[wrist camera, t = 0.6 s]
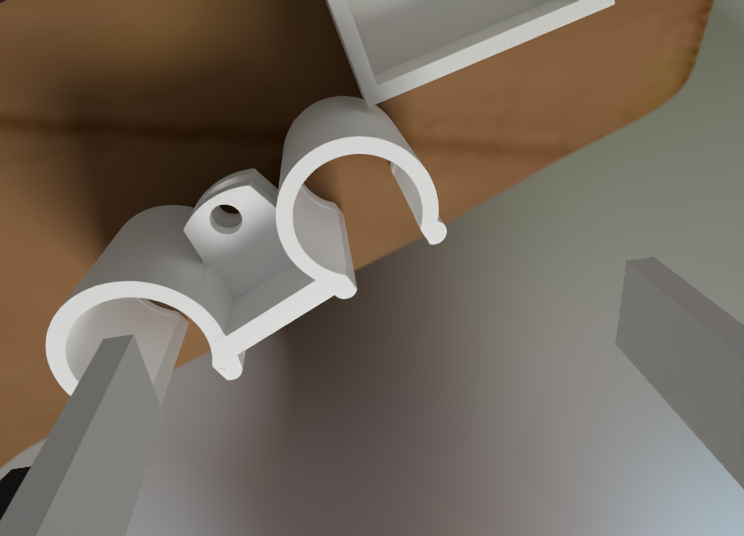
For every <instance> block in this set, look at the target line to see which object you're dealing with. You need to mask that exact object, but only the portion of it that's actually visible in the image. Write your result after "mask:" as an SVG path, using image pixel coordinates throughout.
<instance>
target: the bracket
mask: <svg viewBox="0 0 744 536" xmlns="http://www.w3.org/2000/svg"><path fill="white" fill-rule="evenodd" d="M349 154H370V155H375V156H379V157H382V158H385V159H387V160H389V161H391V163H390V169H391V171H392V173H393V174H394V176H395V178H396V180H397V182H398V184H399V186H400V188H401V190H402V192H403V194H404V196H405V198H406V200H407V202H408V204H409V206H410V208H411V210H412V212H413V214H414V216H415V218H416V221H417V223H418V225H419V227H420V229H421V231H422V232H423V234H424V235H425V237H426V238H427V240H428V242H429V243H430V244H438V243H440V242H441V241H442V240H443V239H444V238H445V236H446V233H447V230H446V227H445V225H444V223H443V222H442V220H441V219H440V217H439V215H438V210H439V209H438V199H437V194H436V190H435V187H434V184H433V182H432V180H431V178H430V176H429V174H428V172H427V171H426V169H425V168H424V166H423V165H422V164H421V162H420V161H419V159H418V158H417V156H416V155H415V153H414V152H413V151H412V149H411V148H410V146H409V145H408V143H407V142H406V140H405V139H404V138H403V136H402V135H401V133H400V132H399V130H398V129H397V127H396V126H395V125H394V123H393V122H392V120H391V119H390V118H389V117H388V115H387V114H386V113H385V112H384V111H383V110H381V109H380V108H379V107H377V106H376V105H373V106H371V107H368V106H367V104H366V102H365V100H364V99H360V98H357V97H351V96H336V97H330V98H326V99H323V100H320V101H318V102H316V103H314V104H312V105H311V106H309V107H308V108H306V109H305V110H304V111H303V112H302V113H301V114H300V115H299V116H298V117H297V118H296V119H295V121H294V122H293V123H292V125H291V127H290V129H289V131H288V133H287V135H286V139H285V142H284V147H283V155H282V164H281V172H280V180H279V188H278V189H277V188H276V187H275V186H274V185H272V184H271V183H270V182H269V181H268V180H267V179H266V178H265V177H263V176H262V175H261V174H260V173H259V172H258V171H257V170H255V169H254V168H253V169H247V170H243V171H239V172H236V173H233V174H230V175H228V176H226V177H224V178H222V179H221V180H219V181H218V182H216V183H215V184H214V185H212V186H211V187H210V188H209V189H208V190H207V191H206V192H205V193H204V194H203V195H202V196H201V198H200V199H199V201H198V202H197V204H196V206H195V208H193V207H188V206H181V205H164V206H158V207H154V208H150V209H147V210H145V211H143V212H140V213H139V214H137V215H135V216H134V217H132V218H131V219H130V220H129V221H127V222H126V223H125V224H124V226H123V227H122V228H121V229H120V231H119V232H118V233H117V234H116V236H115V237H114V238H113V240H112V241H111V242H110V244H109V245H108V246H107V248H106V249H105V250H104V251H103V253H102V254H101V255H100V257H99V258H98V259H97V261H96V262H95V263H94V265H93V266H92V267H91V268H90V270H89V271H88V272H87V274H86V275H85V276H84V278H83V279H82V280H81V282H80V283H79V284H78V285H77V287H76V288H75V289H74V291H73V292H72V293H71V295H70V296H69V297H68V299H67V300H66V301H65V302H64V304H63V305H62V306H61V308H60V309H59V310H58V312H57V313H56V314H55V316H54V318H53V319H52V321H51V323H50V326H49V329H48V332H47V337H46V354H47V359H48V363H49V366H50V368H51V370H52V372H53V374H54V376H55V378H56V380H57V381H58V383H59V384H60V385H61V386H62V388H63V389H64V390H65V391H66V392H67V393H68V394H69V395H70V396H71V395H72V394H73V392H74V390H75V388H76V386H77V385H78V383H79V381H80V379H81V378H82V376H83V374H84V372H85V371H86V369H87V367H88V365H89V364H90V362H91V360H92V358H93V356H94V355H95V353H96V351H97V349H98V348H99V346H100V344H101V342H102V341H103V339H106V338H113V337H119V336H126V335H133V334H134V336H135V339H136V342H137V344H138V347H139V350H140V352H141V355H142V358H143V360H144V363H145V366H146V368H147V371H148V374H149V376H150V379H151V382H152V384H153V387H154V390H155V392H156V395H157V398H158V400H159V403H160V406H161V403H162V400H163V397H164V394H165V391H166V388H167V385H168V382H169V380H170V376H171V374H172V371H173V368H174V365H175V362H176V359H177V356H178V353H179V350H180V347H181V345H182V342H183V339H184V336H185V333H186V330H187V327H188V324H189V322H188V321H187V320H186V319H185V318H184V317H183V316H182V315H181V314H180V313H179V312H178V311H172V310H168V309H165V308H162V307H160V306H157V305H155V304H153V303H152V302H150V301H149V300H147V299H151V300H155V301H159V302H162V303H165V304H168V305H170V306H172V307H174V308H176V309H178V310H180V311H181V312H183V313H184V314H186V315H187V316H188V317H190V318H191V319H192V320H193V321H194V322H195V323H196V324H197V325H198V326H199V327H200V328H201V330H202V331H203V332H204V334H205V336H206V337H207V339H208V342H209V344H210V347H211V351H212V358H213V363H212V366H213V367H214V368H215V369H216V370H217V371H218V372H219V373H220V374H221V375H222V376H224V377H225V378H226V379H227V380H232V379H236V378H238V377H239V376H240V375H241V373H242V369H243V363H244V356H245V350H246V349H248V348H249V347H251V346H252V345H254V344H256V343H257V342H259V341H260V340H262V339H264V338H265V337H267V336H269V335H270V334H272V333H273V332H275V331H277V330H278V329H280V328H282V327H283V326H285V325H286V324H288V323H290V322H291V321H293V320H295V319H296V318H298V317H299V316H301V315H303V314H304V313H306V312H307V311H309V310H310V309H312V308H314V307H316V306H317V305H319V304H320V303H322V302H324V301H325V300H327V299H328V298H330V297H332V296H333V295H336V296H337V297H339V298H342V299H347V298H350V297H352V296H353V295H354V294H355V293H356V291H357V287H356V282H355V276H354V270H353V265H352V259H351V254H350V248H349V243H348V237H347V232H346V227H345V221H344V216H343V213H342V212H341V210H340V209H339V208H338V206H337V205H336V204H335V203H333V202H329V201H326V200H324V199H321V198H320V197H318V196H316V195H315V194H313V193H312V192H311V191H310V190H309V189H308V188H307V187H306V186H305V184H304V183H303V182H304V181H305V180H306V178H307V177H308V176H309V175H310V174H311V173H312V172H313V171H314V170H315V169H317V168H318V167H319V166H321V165H322V164H324V163H326V162H328V161H330V160H332V159H334V158H337V157H340V156H344V155H349ZM224 204H225V205H231V206H233V207H235V208H236V209H237V210H238V211H239V212H240V213H237V214H230V213H227V212H225V211H223V210H222V209H221V207H220V206H219V205H224Z"/></svg>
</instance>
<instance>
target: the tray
mask: <svg viewBox="0 0 744 536" xmlns="http://www.w3.org/2000/svg"><path fill="white" fill-rule="evenodd" d="M325 1H326V4H327V6H328V9H329V12H330V14H331V17H332V19H333V22H334V25H335V27H336V30H337V33H338V35H339V38H340V40H341V43H342V46H343V48H344V51H345V53H346V56H347V59H348V61H349V64H350V67H351V69H352V72H353V74H354V77H355V80H356V82H357V85H358V87H359V90H360V93H361V95H362V97H363V99H364V100H365V102H366V104H367V106H368V107H371V106H373V105H376V104H378V103H380V102H383V101H385V100H387V99H390V98H392V97H395V96H397V95H399V94H402V93H404V92H406V91H409V90H411V89H414V88H416V87H418V86H421V85H423V84H426V83H428V82H430V81H433V80H435V79H437V78H440V77H442V76H445V75H447V74H449V73H452V72H454V71H457V70H459V69H461V68H464V67H466V66H468V65H471V64H473V63H476V62H478V61H480V60H483V59H485V58H487V57H490V56H492V55H495V54H497V53H499V52H502V51H504V50H507V49H509V48H511V47H514V46H516V45H518V44H521V43H523V42H526V41H528V40H530V39H533V38H535V37H538V36H540V35H542V34H545V33H547V32H549V31H552V30H554V29H557V28H559V27H561V26H564V25H566V24H568V23H571V22H573V21H576V20H578V19H580V18H583V17H585V16H588V15H590V14H592V13H595V12H597V11H599V10H602V9H604V8H607V7H609V6H611V5H614V4H615V1H614V0H325Z"/></svg>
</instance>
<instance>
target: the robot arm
mask: <svg viewBox="0 0 744 536" xmlns="http://www.w3.org/2000/svg"><path fill="white" fill-rule="evenodd" d="M616 345H617V346H618V347H619V349H620V350H622V352H623V353H624V354H625V355H626V356H627V358H628V359H629V360H630V361H631V362H632V363H633V364H634V366H635V367H636V368H637V369H638V370H639V371H640V372H641V373H642V374H643V376H644V377H645V378H646V379H647V380H648V381H649V382H650V384H651V385H652V386H653V387H654V388H655V389H656V390H657V391H658V393H659V394H660V395H661V396H662V397H663V398H664V399H665V401H666V402H667V403H668V404H669V405H670V406H671V407H672V408H673V410H674V411H675V412H676V413H677V414H678V415H679V416H680V418H681V419H682V420H683V421H684V422H685V423H686V424H687V425H688V427H689V428H691V430H692V431H693V432H694V433H695V435H696V436H697V437H698V438H699V439H700V440H701V441H702V442H703V444H704V445H705V446H706V447H707V448H708V449H709V450H710V451H711V453H712V454H713V455H714V456H715V457H716V458H717V459H718V461H719V462H720V463H721V464H722V465H723V466H724V467H725V468H726V470H727V471H728V472H729V473H730V474H731V475H732V476H733V478H734V479H735V480H736V481H737V482H738V483H739V484H740V485H741V487H742V488H743V489H744V325H743V324H741V323H740V322H739V321H737V320H736V319H735V318H733V317H732V316H731V315H729V314H728V313H727V312H726V311H724V310H723V309H722V308H720V307H719V306H718V305H716V304H715V303H714V302H712V301H711V300H710V299H708V298H707V297H706V296H704V295H703V294H702V293H700V292H699V291H698V290H697V289H695V288H694V287H693V286H691V285H690V284H689V283H687V282H686V281H685V280H683V279H682V278H681V277H679V276H678V275H677V274H676V273H674V272H673V271H672V270H670V269H669V268H668V267H666V266H665V265H664V264H662V263H661V262H660V261H659V260H657V259H656V258H655V257H650V258H643V259H636V260H630V261H626V269H625V276H624V284H623V291H622V299H621V307H620V315H619V322H618V330H617V338H616ZM163 417H164V414H163V411H162V408H161V406H160V403H159V400H158V398H157V395H156V392H155V390H154V387H153V384H152V382H151V379H150V376H149V374H148V371H147V368H146V366H145V363H144V360H143V358H142V355H141V352H140V350H139V347H138V344H137V342H136V339H135V336H134V334H133V335H126V336H119V337H113V338H106V339H103V341H102V342H101V344H100V346H99V348H98V349H97V351H96V353H95V355H94V356H93V358H92V360H91V362H90V364H89V365H88V367H87V369H86V371H85V372H84V374H83V376H82V378H81V379H80V381H79V383H78V385H77V386H76V388H75V390H74V392H73V394H72V395H71V397H70V399H69V401H68V402H67V404H66V406H65V408H64V409H63V411H62V413H61V415H60V416H59V418H58V420H57V422H56V424H55V425H54V427H53V429H52V431H51V432H50V434H49V436H48V438H47V439H46V441H45V443H44V445H43V446H42V449H41V450H40V452H39V454H38V456H37V457H36V459H35V461H34V462H33V464H32V466H30V467H25V468H18V469H12V470H11V471H10V472H9V473H8V474H7V475H5V476H4V478H2V479H1V480H0V536H125V534H126V531H127V528H128V525H129V522H130V519H131V516H132V513H133V510H134V507H135V503H136V500H137V497H138V494H139V491H140V488H141V485H142V482H143V479H144V476H145V473H146V470H147V466H148V463H149V460H150V457H151V454H152V451H153V448H154V445H155V442H156V439H157V435H158V432H159V429H160V426H161V423H162V420H163Z"/></svg>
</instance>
